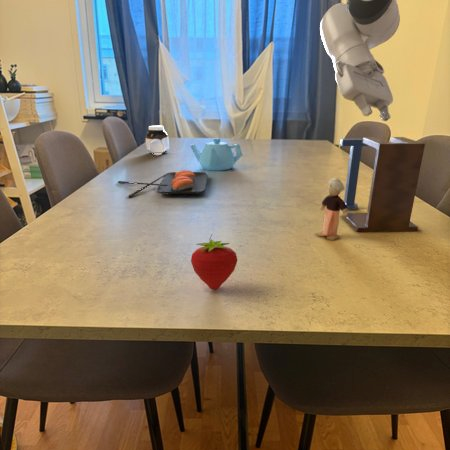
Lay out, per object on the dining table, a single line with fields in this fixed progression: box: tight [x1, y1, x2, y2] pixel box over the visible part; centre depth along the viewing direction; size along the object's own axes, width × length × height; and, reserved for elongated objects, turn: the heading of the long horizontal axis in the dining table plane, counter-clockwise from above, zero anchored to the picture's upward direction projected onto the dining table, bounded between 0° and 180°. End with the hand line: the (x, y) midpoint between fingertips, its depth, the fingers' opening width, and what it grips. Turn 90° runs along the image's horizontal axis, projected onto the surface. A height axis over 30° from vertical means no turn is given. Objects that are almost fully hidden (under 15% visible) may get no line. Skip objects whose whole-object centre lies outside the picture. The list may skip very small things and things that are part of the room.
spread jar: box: [145, 125, 170, 156], centre depth 196 cm, size 12×11×12 cm
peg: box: [339, 138, 370, 211], centre depth 112 cm, size 8×5×18 cm, turn 92°
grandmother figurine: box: [317, 178, 349, 241], centre depth 92 cm, size 8×4×13 cm, turn 44°
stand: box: [341, 136, 426, 233], centre depth 99 cm, size 14×12×19 cm
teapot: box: [189, 137, 243, 171], centre depth 165 cm, size 15×15×11 cm
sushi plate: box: [117, 169, 208, 199], centre depth 138 cm, size 29×30×4 cm
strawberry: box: [190, 234, 238, 291], centre depth 70 cm, size 6×8×10 cm
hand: (377, 117), depth 105 cm, fingers open, 8 cm apart
